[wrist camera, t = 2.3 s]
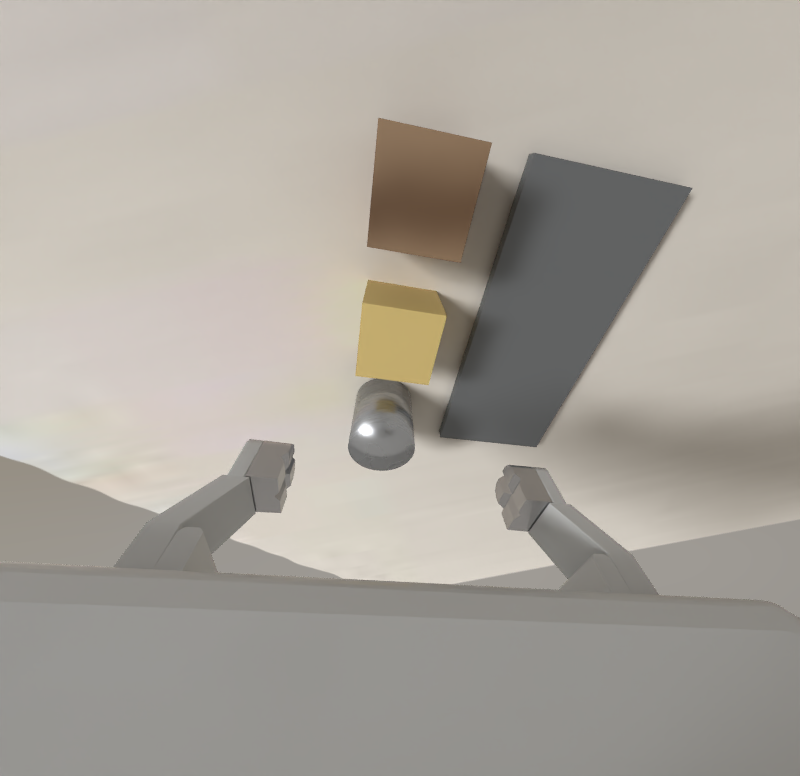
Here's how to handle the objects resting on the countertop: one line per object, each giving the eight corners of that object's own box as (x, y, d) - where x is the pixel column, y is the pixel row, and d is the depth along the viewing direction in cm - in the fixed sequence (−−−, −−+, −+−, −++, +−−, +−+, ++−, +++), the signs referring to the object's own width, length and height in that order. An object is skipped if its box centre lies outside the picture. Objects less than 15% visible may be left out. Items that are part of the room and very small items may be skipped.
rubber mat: (529, 154, 17) (534, 153, 16) (681, 188, 18) (692, 188, 17) (439, 431, 29) (440, 437, 29) (533, 441, 30) (536, 447, 30)
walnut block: (382, 134, 16) (378, 118, 12) (467, 152, 17) (491, 142, 13) (372, 233, 19) (367, 246, 15) (446, 246, 20) (460, 262, 16)
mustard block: (368, 279, 21) (362, 302, 17) (436, 290, 21) (446, 316, 17) (361, 342, 24) (355, 375, 20) (422, 351, 24) (428, 384, 20)
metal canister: (358, 374, 25) (350, 420, 20) (415, 381, 26) (420, 427, 21) (354, 417, 28) (346, 467, 23) (405, 423, 29) (408, 473, 24)
